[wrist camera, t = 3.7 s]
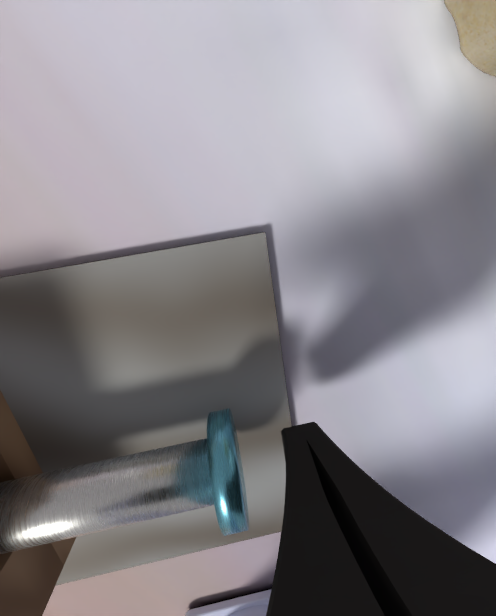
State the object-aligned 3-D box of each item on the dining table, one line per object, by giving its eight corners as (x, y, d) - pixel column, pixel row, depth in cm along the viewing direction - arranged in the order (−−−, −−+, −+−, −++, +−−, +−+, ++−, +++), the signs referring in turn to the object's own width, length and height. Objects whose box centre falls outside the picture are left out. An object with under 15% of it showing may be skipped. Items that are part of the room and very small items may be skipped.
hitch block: (303, 518, 16) (347, 668, 11) (-104, 615, 15) (-288, 842, 9) (263, 231, 11) (309, 242, 6) (-360, 339, 10) (-1077, 487, 4)
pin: (242, 460, 13) (253, 559, 9) (-20, 518, 12) (-125, 651, 8) (226, 388, 12) (232, 468, 8) (-66, 448, 11) (-213, 567, 7)
